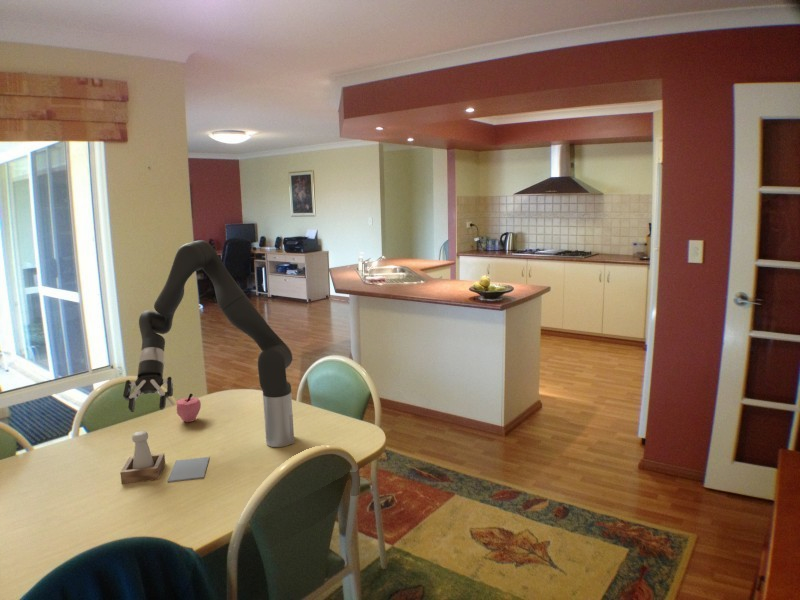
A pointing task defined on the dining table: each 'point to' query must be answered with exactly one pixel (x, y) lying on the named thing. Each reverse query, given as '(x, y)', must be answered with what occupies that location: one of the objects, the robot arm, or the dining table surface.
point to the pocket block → (143, 470)
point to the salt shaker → (141, 451)
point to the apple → (188, 408)
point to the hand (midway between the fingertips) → (146, 409)
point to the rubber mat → (189, 469)
